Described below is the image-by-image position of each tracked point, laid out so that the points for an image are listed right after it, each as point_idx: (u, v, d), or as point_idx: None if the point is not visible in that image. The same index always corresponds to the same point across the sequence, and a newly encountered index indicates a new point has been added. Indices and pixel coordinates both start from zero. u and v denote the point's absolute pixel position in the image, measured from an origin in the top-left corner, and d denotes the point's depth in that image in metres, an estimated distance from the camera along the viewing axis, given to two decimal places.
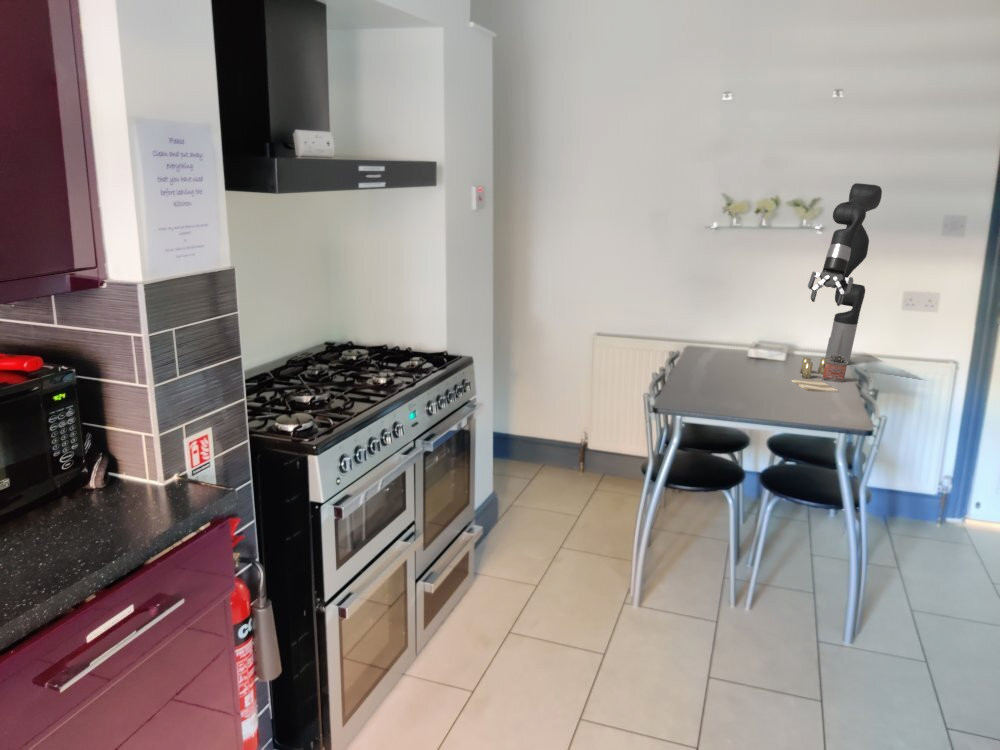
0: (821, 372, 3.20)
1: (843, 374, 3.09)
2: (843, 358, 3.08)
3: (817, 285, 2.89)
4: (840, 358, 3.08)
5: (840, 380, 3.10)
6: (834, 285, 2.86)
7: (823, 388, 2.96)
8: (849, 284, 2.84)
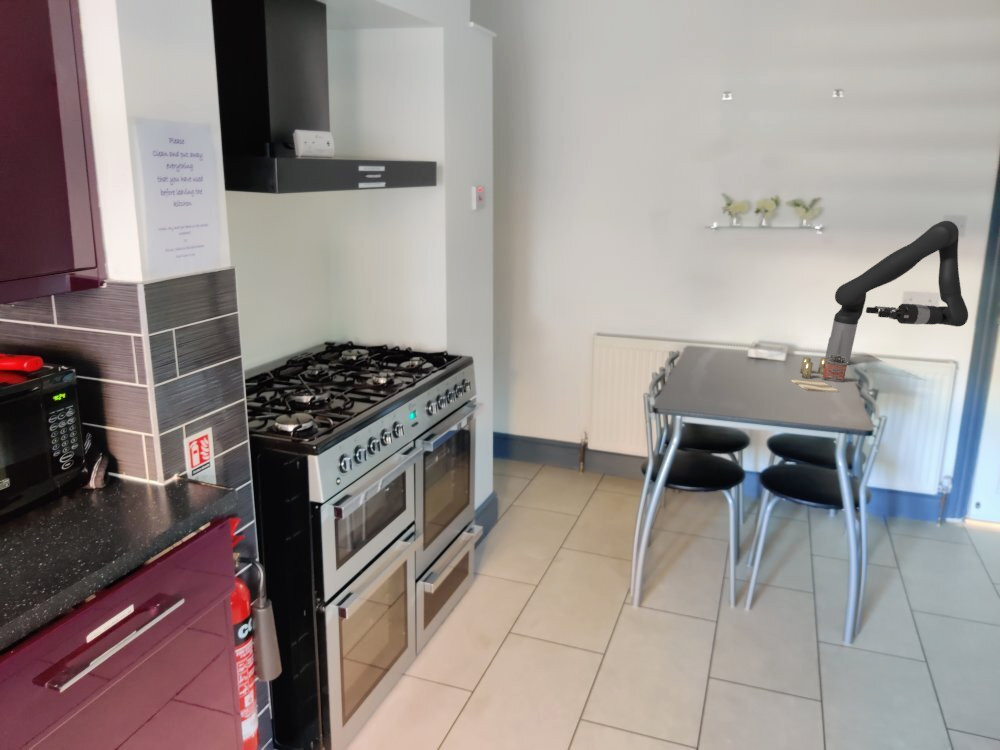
0: (821, 372, 3.20)
1: (843, 374, 3.09)
2: (843, 358, 3.08)
3: (891, 317, 3.03)
4: (840, 358, 3.08)
5: (840, 380, 3.10)
6: None
7: (823, 388, 2.96)
8: None
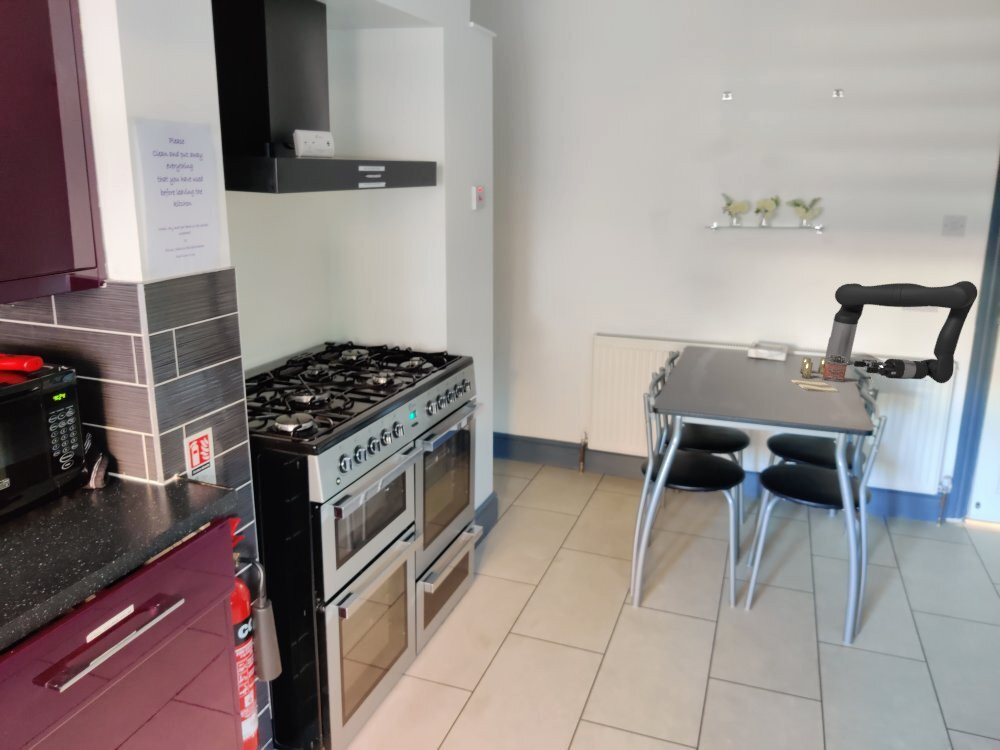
0: (821, 372, 3.20)
1: (843, 374, 3.09)
2: (843, 358, 3.08)
3: (879, 373, 3.09)
4: (840, 358, 3.08)
5: (840, 380, 3.10)
6: None
7: (823, 388, 2.96)
8: (869, 366, 3.19)
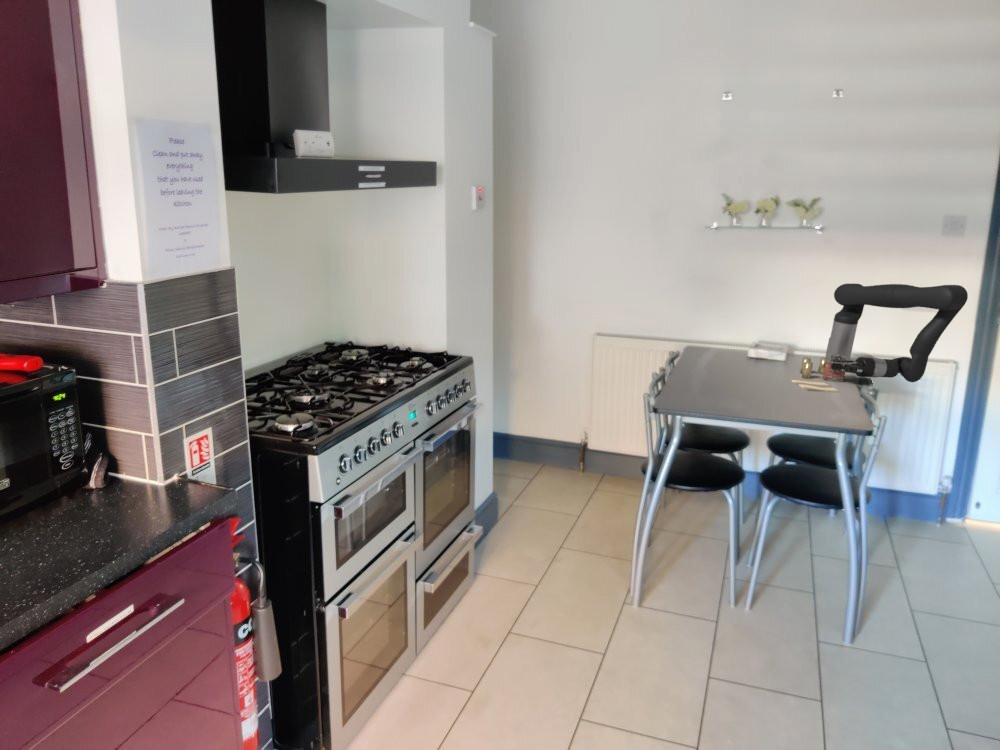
0: (821, 372, 3.20)
1: (843, 374, 3.10)
2: (843, 358, 3.09)
3: None
4: (840, 358, 3.08)
5: (840, 380, 3.10)
6: None
7: (823, 388, 2.96)
8: None
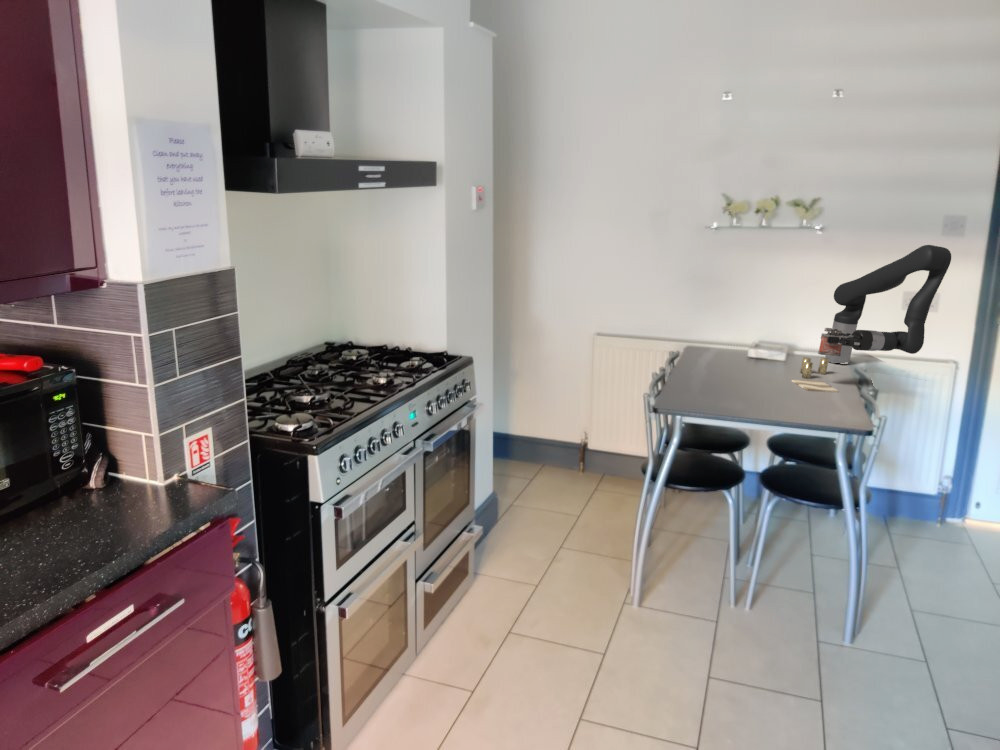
0: (821, 372, 3.20)
1: (840, 347, 2.99)
2: (839, 331, 2.97)
3: None
4: (836, 331, 2.97)
5: (837, 354, 2.99)
6: None
7: (823, 388, 2.96)
8: None
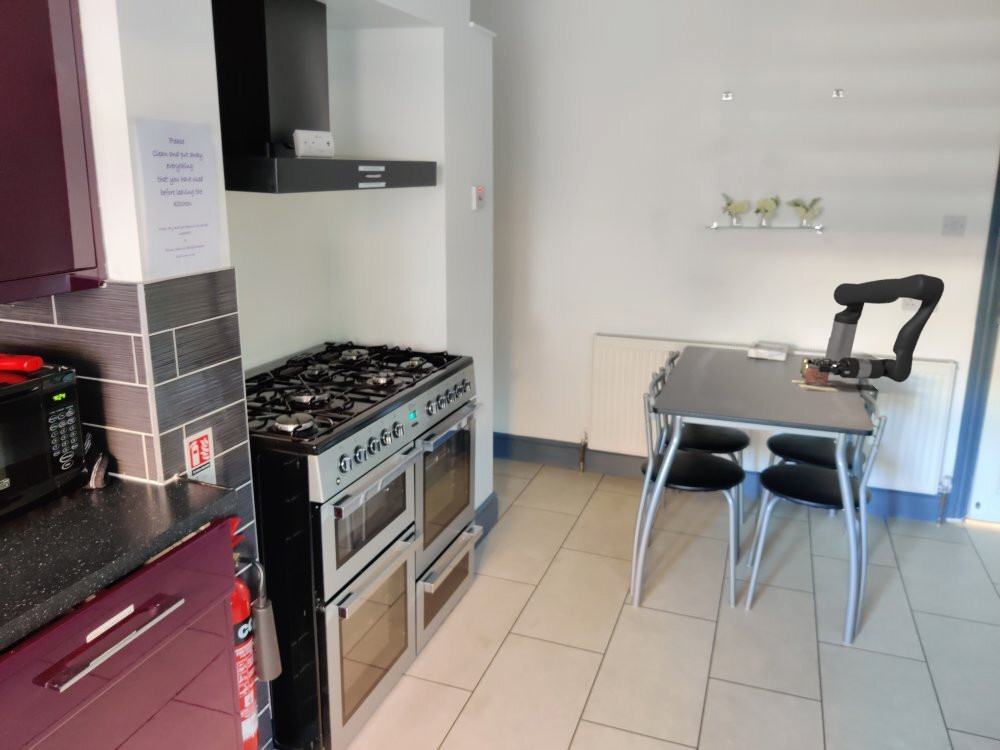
0: None
1: (826, 378, 2.98)
2: (826, 362, 2.97)
3: (832, 372, 2.95)
4: (823, 362, 2.96)
5: (823, 384, 2.98)
6: None
7: (823, 388, 2.96)
8: None
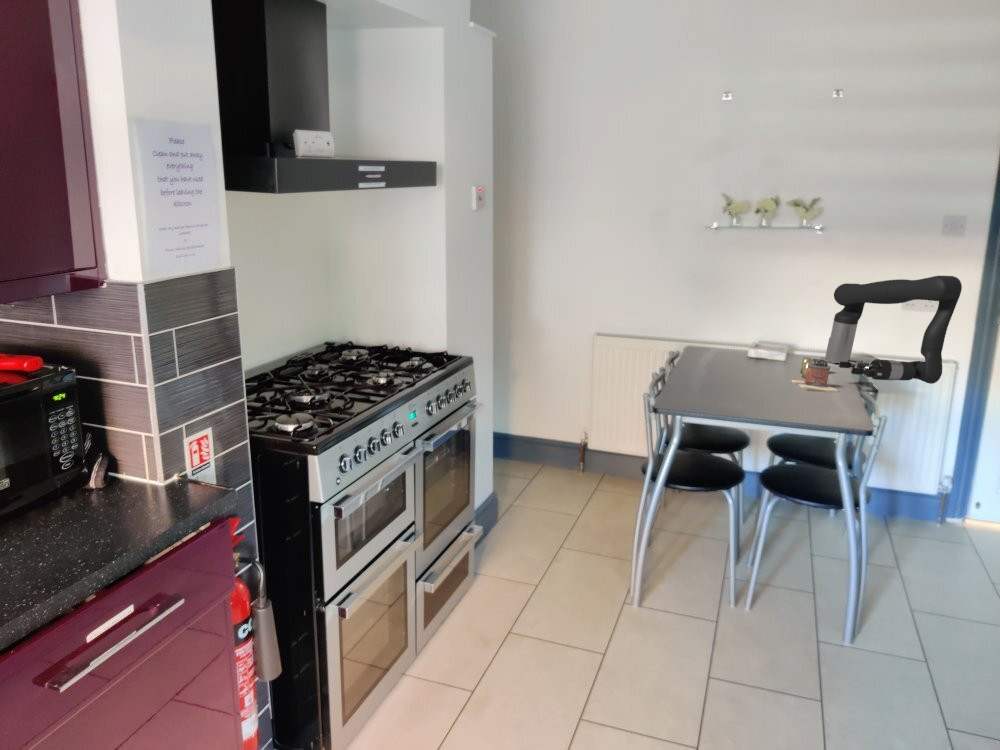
0: None
1: (826, 378, 2.98)
2: (826, 362, 2.97)
3: (865, 374, 2.97)
4: (823, 362, 2.96)
5: (823, 384, 2.98)
6: None
7: (823, 388, 2.96)
8: (855, 367, 3.07)
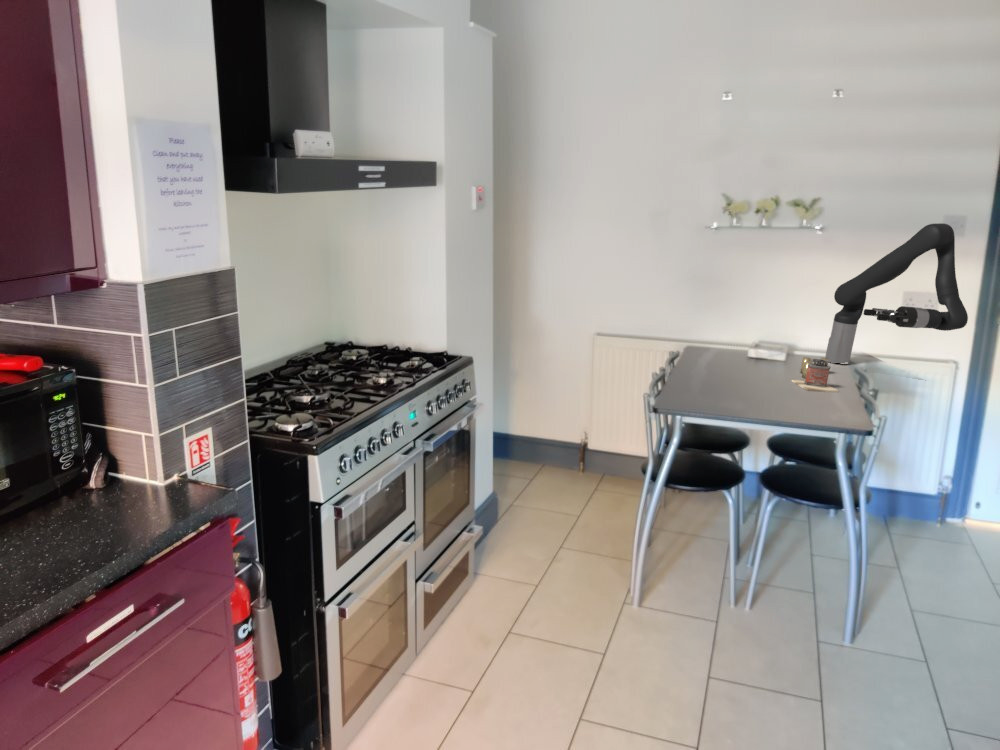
0: None
1: (826, 378, 2.98)
2: (826, 362, 2.97)
3: None
4: (823, 362, 2.96)
5: (823, 384, 2.98)
6: None
7: (823, 388, 2.96)
8: None
